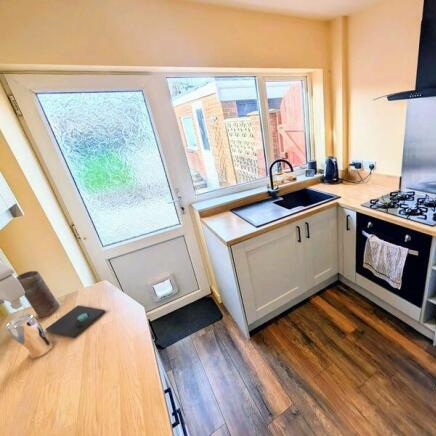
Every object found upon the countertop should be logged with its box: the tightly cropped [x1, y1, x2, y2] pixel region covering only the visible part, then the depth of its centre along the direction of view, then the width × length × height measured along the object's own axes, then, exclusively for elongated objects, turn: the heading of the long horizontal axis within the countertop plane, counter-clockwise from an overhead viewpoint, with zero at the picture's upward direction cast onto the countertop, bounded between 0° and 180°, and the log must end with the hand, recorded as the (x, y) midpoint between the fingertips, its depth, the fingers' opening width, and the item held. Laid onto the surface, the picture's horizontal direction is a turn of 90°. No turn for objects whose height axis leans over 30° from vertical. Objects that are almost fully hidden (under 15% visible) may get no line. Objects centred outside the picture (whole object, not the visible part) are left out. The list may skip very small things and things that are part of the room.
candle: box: [15, 270, 60, 318], centre depth 105 cm, size 8×7×20 cm
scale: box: [44, 305, 106, 339], centre depth 101 cm, size 16×13×3 cm
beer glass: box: [5, 312, 54, 359], centre depth 87 cm, size 7×7×15 cm
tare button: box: [78, 313, 88, 322], centre depth 99 cm, size 3×3×2 cm
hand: (9, 305), depth 81 cm, fingers open, 8 cm apart
